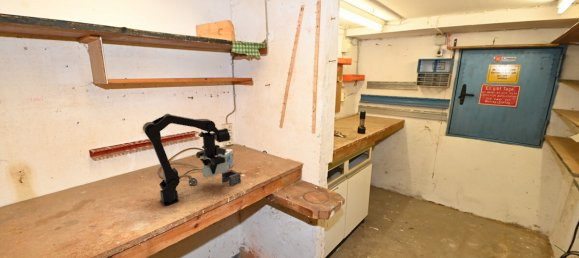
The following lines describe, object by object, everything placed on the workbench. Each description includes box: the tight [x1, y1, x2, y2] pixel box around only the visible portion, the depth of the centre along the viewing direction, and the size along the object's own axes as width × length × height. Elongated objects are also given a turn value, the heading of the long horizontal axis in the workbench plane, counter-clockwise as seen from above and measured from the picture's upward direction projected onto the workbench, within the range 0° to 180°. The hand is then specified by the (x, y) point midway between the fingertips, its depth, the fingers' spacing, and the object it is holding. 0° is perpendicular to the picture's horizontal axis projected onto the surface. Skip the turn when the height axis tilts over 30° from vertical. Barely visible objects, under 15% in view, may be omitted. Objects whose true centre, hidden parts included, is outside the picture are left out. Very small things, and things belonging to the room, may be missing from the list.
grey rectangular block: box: [201, 162, 228, 179], centre depth 134 cm, size 12×4×5 cm, turn 137°
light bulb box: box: [218, 148, 235, 171], centre depth 165 cm, size 11×7×11 cm, turn 168°
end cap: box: [221, 169, 242, 187], centre depth 143 cm, size 6×8×6 cm
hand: (211, 172), depth 133 cm, fingers closed on grey rectangular block, 4 cm apart
